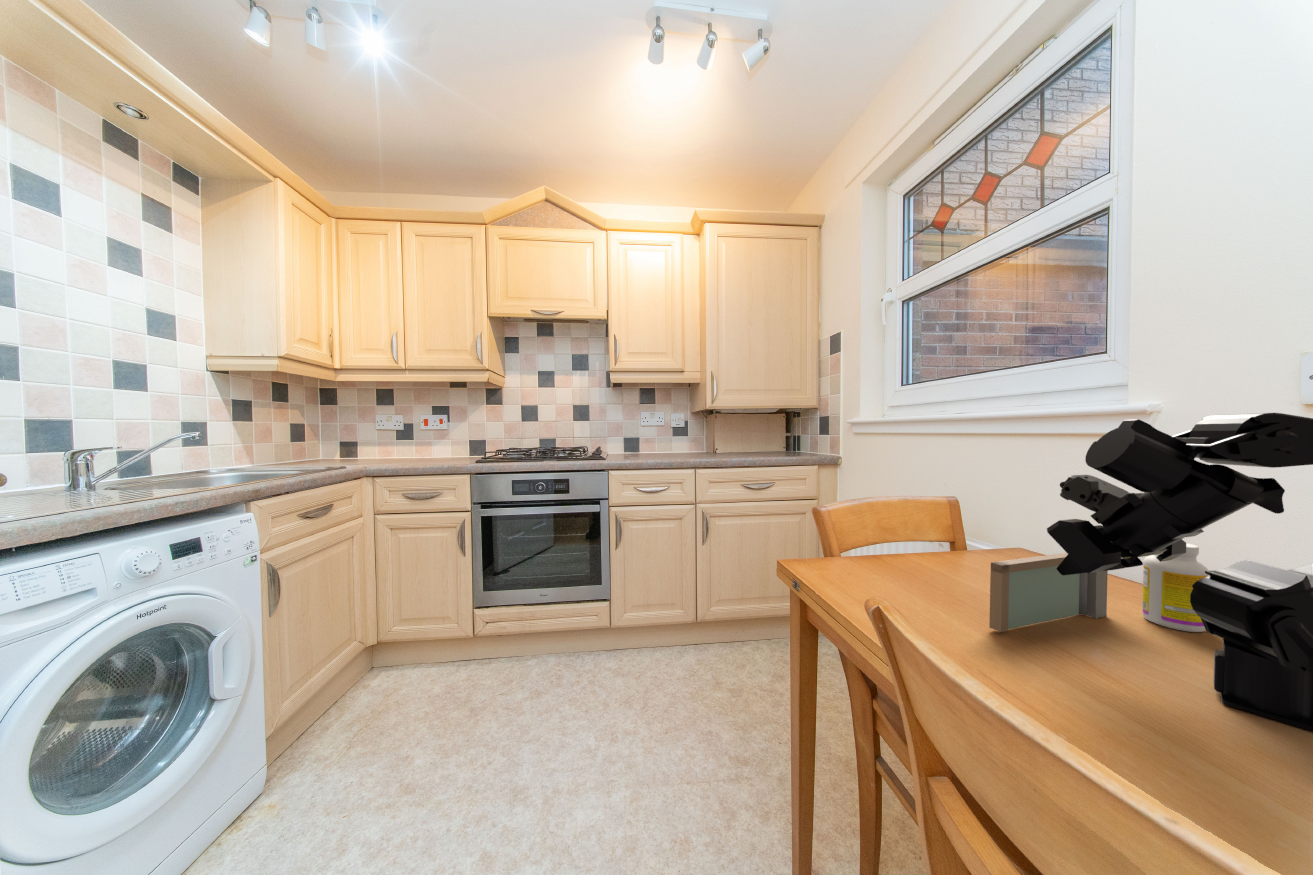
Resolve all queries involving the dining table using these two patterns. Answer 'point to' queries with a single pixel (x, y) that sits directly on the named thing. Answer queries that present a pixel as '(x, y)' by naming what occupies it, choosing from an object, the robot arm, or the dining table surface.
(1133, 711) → the dining table surface
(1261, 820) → the dining table surface
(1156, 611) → the supplement bottle
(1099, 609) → the gatepost
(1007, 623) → the gate
